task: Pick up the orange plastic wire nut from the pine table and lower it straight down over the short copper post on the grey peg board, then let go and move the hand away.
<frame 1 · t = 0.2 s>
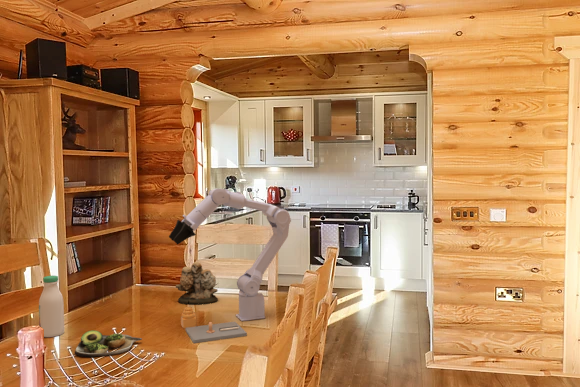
hand: (172, 240, 174), 31 cm above the table, fingers open, 7 cm apart
wire nut: (188, 325, 176), on the table
milk bottle: (52, 334, 168), on the table
salad plate: (103, 349, 155), on the table
grey peg board: (215, 333, 167), on the table
owl figurine: (197, 301, 210), on the table
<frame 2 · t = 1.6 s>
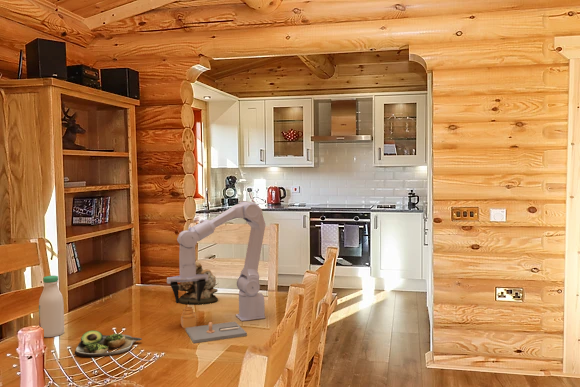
hand: (188, 301, 175), 9 cm above the table, fingers open, 7 cm apart
nothing on the table moved.
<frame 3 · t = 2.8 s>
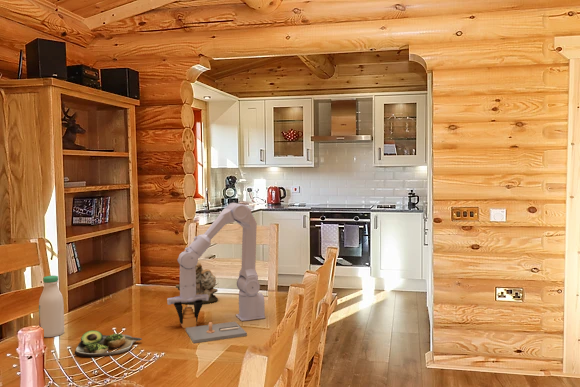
hand: (188, 322, 176), 1 cm above the table, fingers closed on wire nut, 5 cm apart
wire nut: (188, 325, 176), on the table, touching gripper
everything else where it was.
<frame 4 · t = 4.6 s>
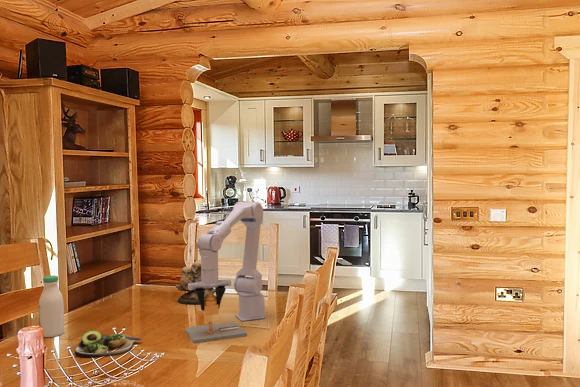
hand: (210, 308, 165), 9 cm above the table, fingers closed on wire nut, 5 cm apart
wire nut: (210, 313, 166), point 7 cm above the table, touching gripper
everything else where it was.
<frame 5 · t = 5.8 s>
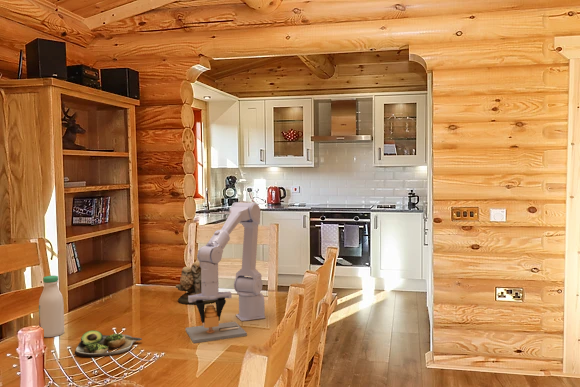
hand: (210, 321, 166), 5 cm above the table, fingers closed on wire nut, 5 cm apart
wire nut: (210, 325, 166), point 3 cm above the table, touching gripper
everything else where it was.
when the fingers open (3 cm above the table, at t = 6.7 s): wire nut stays where it is, resting on grey peg board.
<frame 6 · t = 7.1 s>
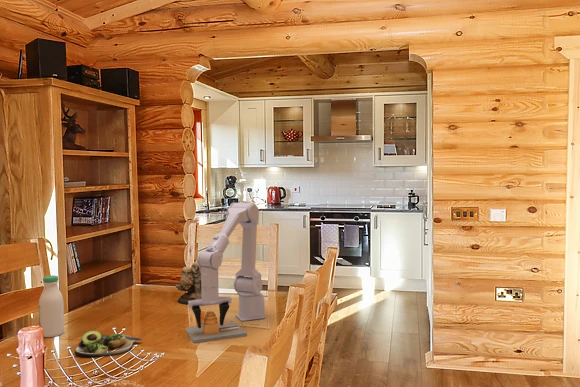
hand: (210, 326, 166), 3 cm above the table, fingers open, 7 cm apart
wire nut: (210, 331, 166), point 1 cm above the table, touching grey peg board
everything else where it was.
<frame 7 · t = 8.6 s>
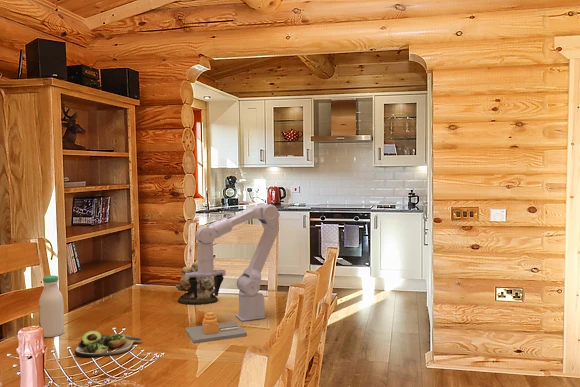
hand: (206, 296, 178), 10 cm above the table, fingers open, 7 cm apart
nothing on the table moved.
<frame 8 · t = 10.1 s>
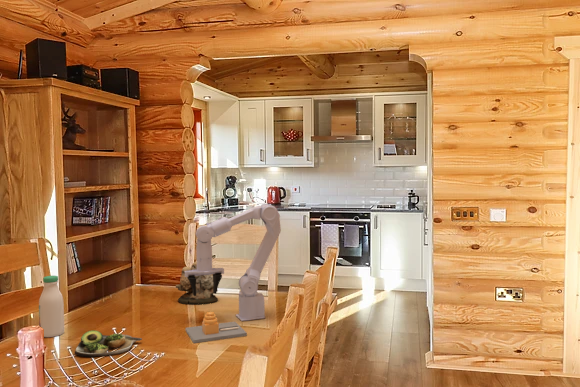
hand: (204, 294, 182), 10 cm above the table, fingers open, 7 cm apart
nothing on the table moved.
at the end: wire nut 0.1 cm from the target spot on the grey peg board, point 1.0 cm above the grey peg board's base; wire nut tilted 0°; the gripper is holding nothing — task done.
